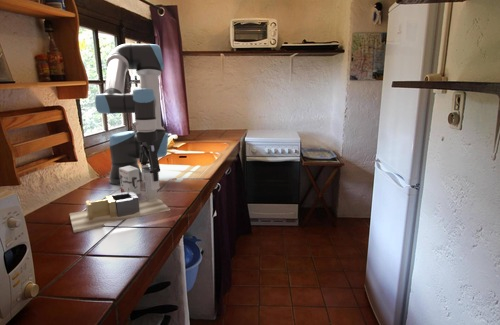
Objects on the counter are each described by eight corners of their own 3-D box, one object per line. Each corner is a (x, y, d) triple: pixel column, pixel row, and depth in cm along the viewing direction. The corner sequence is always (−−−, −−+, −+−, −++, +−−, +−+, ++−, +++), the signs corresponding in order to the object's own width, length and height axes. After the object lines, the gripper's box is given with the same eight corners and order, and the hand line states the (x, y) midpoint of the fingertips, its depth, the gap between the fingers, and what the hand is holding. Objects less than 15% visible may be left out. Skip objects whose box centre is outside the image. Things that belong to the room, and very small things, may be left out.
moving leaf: (86, 214, 121) (84, 199, 119) (112, 209, 125) (111, 195, 124) (89, 221, 114) (87, 206, 113) (116, 216, 119) (115, 201, 117)
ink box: (120, 194, 145) (117, 167, 142) (131, 191, 148) (128, 165, 146) (130, 198, 139) (128, 171, 136) (141, 195, 143) (139, 168, 140)
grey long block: (144, 199, 135) (141, 167, 132) (156, 197, 138) (153, 166, 134) (147, 202, 131) (145, 170, 128) (159, 200, 134) (157, 168, 131)
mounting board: (69, 216, 122) (69, 213, 122) (158, 199, 138) (157, 197, 138) (73, 232, 109) (73, 229, 108) (171, 212, 125) (170, 209, 124)
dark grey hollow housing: (113, 208, 126) (111, 194, 125) (134, 204, 130) (132, 190, 129) (118, 217, 118) (116, 202, 117) (140, 212, 122) (139, 198, 121)
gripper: (128, 127, 136) (133, 178, 141) (145, 135, 116) (149, 194, 120) (147, 126, 140) (151, 176, 145) (166, 133, 119) (170, 191, 124)
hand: (150, 184), depth 133 cm, fingers open, 13 cm apart
